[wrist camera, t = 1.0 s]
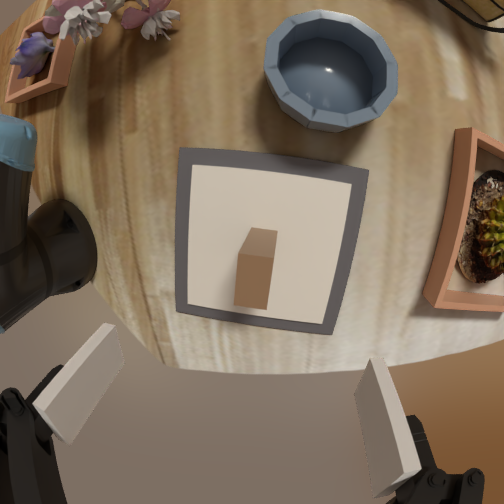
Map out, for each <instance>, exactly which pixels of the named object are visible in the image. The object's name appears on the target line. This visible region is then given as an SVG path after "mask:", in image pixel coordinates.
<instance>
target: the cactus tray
mask: <svg viewBox="0 0 504 504" xmlns="http://www.w3.org/2000/svg"><path fill="white" fill-rule="evenodd" d="M477 146H478V147H480V148H482V149H484V150H486V151H488V152H490V153H492V154H494V155H496V156H497V157H499V158H501V159H503V160H504V144H502V143H500V142H499V141H497V140H495V139H493V138H491V137H490V136H488V135H486V134H484V133H482V132H480V131H478V130H476V129H474V128H472V127H471V128H461V129H455V142H454V154H453V163H452V172H451V179H450V186H449V192H448V198H447V203H446V209H445V214H444V218H443V223H442V227H441V232H440V236H439V240H438V244H437V247H436V251H435V255H434V258H433V262H432V265H431V268H430V272H429V275H428V278H427V281H426V284H425V287H424V290H423V293H422V294H423V295H424V297H425V298H426V299H427V300H428V301H429V303H430V304H431V305H432V306H433V307H434V308H444V309H458V310H475V311H495V312H504V296H497V295H488V294H479V293H469V292H460V291H451V290H447V287H448V284H449V281H450V278H451V275H452V272H453V269H454V266H455V262H456V259H457V256H458V252H459V248H460V245H461V241H462V237H463V233H464V229H465V224H466V220H467V215H468V210H469V205H470V200H471V194H472V187H473V180H474V172H475V163H476V152H477Z"/></svg>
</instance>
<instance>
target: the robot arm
mask: <svg viewBox="0 0 504 504" xmlns="http://www.w3.org/2000/svg"><path fill="white" fill-rule="evenodd" d="M36 144H37V132H36V129H35V127H34V126H33V125H32V124H31V123H29V122H27V121H25V120H22V119H19V118H16V117H12V116H8V115H4V114H0V334H1V333H4V332H5V331H6V330H7V329H8V328H9V327H11V326H12V325H13V324H14V323H16V322H17V321H18V320H19V319H20V318H22V317H23V316H24V315H26V314H27V313H28V312H29V311H30V310H32V309H33V308H35V307H36V306H37V305H39V304H40V303H41V302H42V301H44V300H45V299H46V298H48V297H49V296H54V295H59V294H64V293H69V292H73V291H76V290H78V289H80V288H81V287H83V286H84V285H85V284H87V283H88V282H89V281H90V280H91V278H92V277H93V275H94V272H95V269H96V263H97V250H96V244H95V239H94V236H93V233H92V230H91V227H90V225H89V223H88V221H87V219H86V218H85V216H84V215H83V213H82V212H81V211H80V210H79V209H78V208H77V207H76V206H75V205H74V204H72V203H71V202H69V201H67V200H63V199H57V200H53V201H50V202H47V203H44V204H43V205H41V206H40V207H39V208H38V209H36V210H35V211H34V212H33V213H32V214H31V215H30V216H28V203H29V193H30V185H31V178H32V171H33V170H34V168H35V164H34V158H35V150H36ZM124 364H125V362H124V358H123V354H122V351H121V347H120V343H119V339H118V335H117V330H116V326H115V325H111V324H107V323H103V324H102V325H101V327H100V328H99V329H98V330H97V331H96V332H95V333H94V334H93V335H92V336H91V337H90V338H89V339H88V340H87V341H86V343H85V344H84V345H83V346H82V347H81V348H80V349H79V350H78V351H77V352H76V353H75V355H74V356H73V357H72V358H71V359H70V360H69V361H68V362H67V363H66V365H65V366H63V365H58V366H57V367H55V368H53V369H52V370H51V371H50V372H49V373H48V374H47V376H46V377H45V378H44V379H43V380H42V382H40V383H39V385H38V386H37V387H36V388H35V389H34V390H33V391H32V393H31V394H30V395H29V396H28V397H27V399H26V400H24V398H23V397H22V395H21V393H20V392H19V391H18V390H17V389H16V388H7V389H5V390H4V391H2V393H1V394H0V504H67V501H66V497H65V494H64V490H63V487H62V483H61V479H60V475H59V471H58V466H57V461H56V456H55V451H54V445H53V440H52V437H51V435H52V434H53V433H54V434H55V436H56V437H57V438H58V439H59V440H60V441H63V442H64V443H66V444H67V445H69V446H70V445H71V444H72V442H73V441H74V439H75V437H76V436H77V434H78V433H79V431H80V429H81V428H82V426H83V425H84V423H85V422H86V420H87V418H88V417H89V415H90V414H91V412H92V411H93V409H94V408H95V406H96V405H97V403H98V402H99V400H100V399H101V397H102V396H103V394H104V393H105V391H106V390H107V388H108V387H109V385H110V384H111V382H112V381H113V380H114V378H115V377H116V375H117V374H118V372H119V371H120V369H121V368H122V366H123V365H124ZM354 396H355V400H356V404H357V410H358V414H359V419H360V424H361V429H362V434H363V439H364V445H365V450H366V456H367V462H368V468H369V475H370V480H371V488H372V496H373V498H378V497H383V496H388V495H390V494H391V493H393V492H394V491H396V496H395V497H394V498H392V499H391V500H389V501H388V502H387V503H386V504H482V498H483V490H484V474H483V472H482V471H481V470H480V469H477V468H471V469H469V470H468V471H466V472H465V473H464V474H446V473H445V471H443V470H441V469H438V468H437V466H436V464H435V461H434V458H433V455H432V452H431V449H430V446H429V443H428V440H427V437H426V434H425V433H424V429H423V426H422V423H421V422H420V420H419V419H418V418H417V417H416V416H415V415H410V416H405V414H404V411H403V408H402V406H401V403H400V400H399V397H398V394H397V392H396V389H395V386H394V384H393V381H392V379H391V376H390V373H389V371H388V368H387V366H386V363H385V361H384V358H370V359H369V362H368V364H367V366H366V369H365V371H364V374H363V376H362V379H361V380H360V383H359V385H358V387H357V389H356V391H355V393H354Z"/></svg>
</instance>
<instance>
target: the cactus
mask: <svg viewBox="0 0 504 504" xmlns="http://www.w3.org/2000/svg"><path fill="white" fill-rule="evenodd" d="M490 177H492V178H493V182H494V184H495V187H494V188H491V186H492V183H490V182H488V184H487V180H488V179H489V178H490ZM494 179H497V180H494ZM497 183H498V188H497V189H496V184H497ZM458 262H459V266H460V269H461V271H462V273H463V275H464V276H465V277H466V278H467V279H468V280H470V281H472V282H475V283H482V282H484V283H486V282H485V281H488V280H493V279H496V278H497V277H498V276H500V275H501V274H502V273H503V274H504V173H503V172H500V171H496V170H492V171H487V172H486V173H484V174H483V175H481V176H480V177H479V178H478V179H477V180H476V182H475V184H473V187H472V194H471V200H470V205H469V210H468V215H467V220H466V224H465V229H464V233H463V237H462V241H461V245H460V248H459V252H458Z"/></svg>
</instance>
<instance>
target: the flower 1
mask: <svg viewBox="0 0 504 504" xmlns="http://www.w3.org/2000/svg"><path fill="white" fill-rule="evenodd" d="M30 36H31V38H26V39H22V41H24V42H22V43H21V44H20V46H19V47H18V48H17V49H16V50H15V51H17V50H18V49H20V51H19V52H17V53H16V54H15V58H12V59H11V62H10V64H12V65H20V66H21V67H20V68H21V72H20V74H19V75H18V78H17V79H23V78H25V77H31V76H32V75H34V74H37V73H39V72H40V71H41V70H42V69H43V67H44V65H45V62H46V59H47V57H48V54H49V53H50V52H54V50H55V47H56V46H55V47H53V41H52V40H50V39H47V38H46V37H45V36H44V34H43V33H41V32H35V33H32V34H31V35H30Z"/></svg>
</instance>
